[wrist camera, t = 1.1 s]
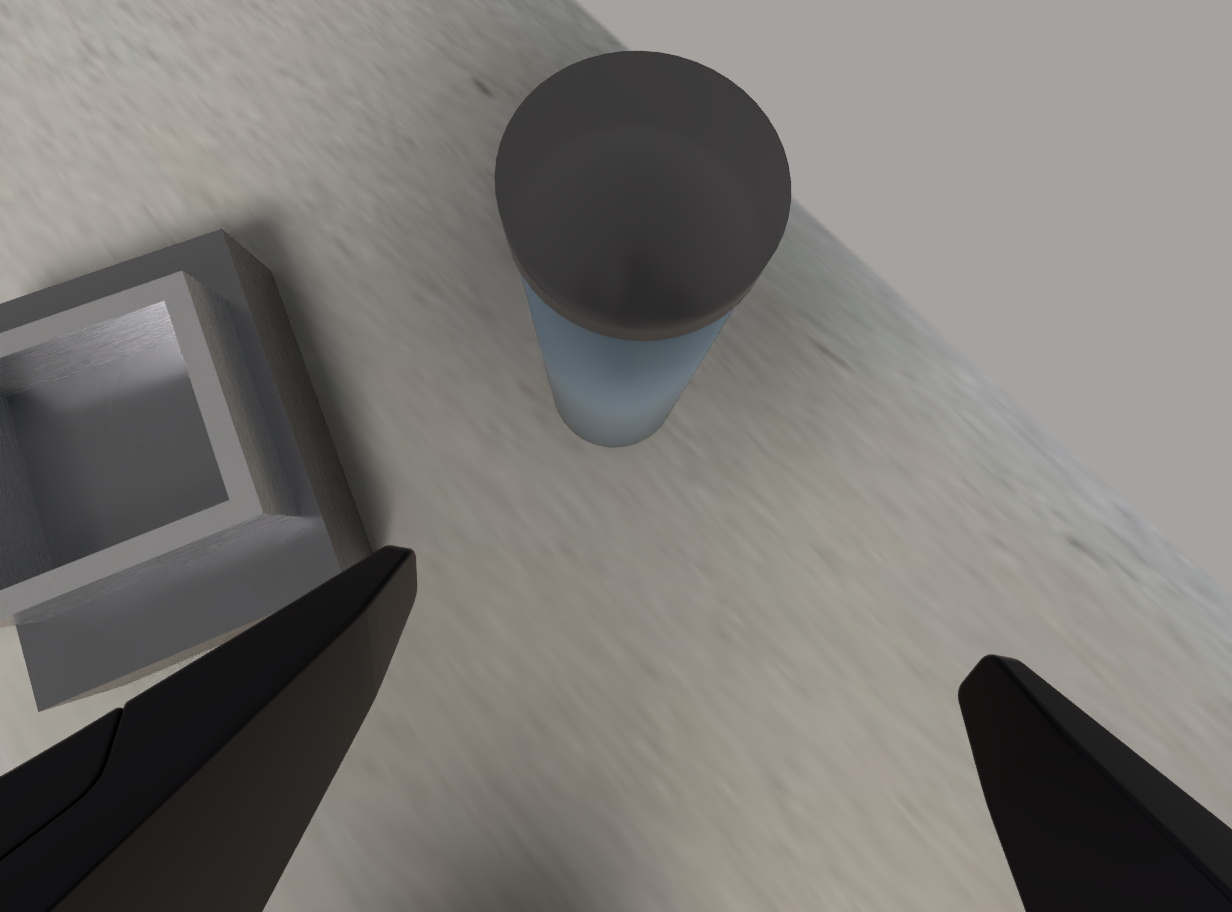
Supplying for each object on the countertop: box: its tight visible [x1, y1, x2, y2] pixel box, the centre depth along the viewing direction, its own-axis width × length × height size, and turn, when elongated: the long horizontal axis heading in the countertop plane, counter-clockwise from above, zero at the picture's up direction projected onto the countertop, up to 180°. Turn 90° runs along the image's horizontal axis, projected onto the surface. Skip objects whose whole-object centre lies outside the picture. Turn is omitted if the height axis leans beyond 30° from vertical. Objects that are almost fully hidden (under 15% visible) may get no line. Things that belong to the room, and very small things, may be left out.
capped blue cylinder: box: [495, 51, 791, 447], centre depth 16 cm, size 5×5×13 cm
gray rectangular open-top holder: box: [0, 229, 372, 712], centre depth 18 cm, size 14×10×5 cm
